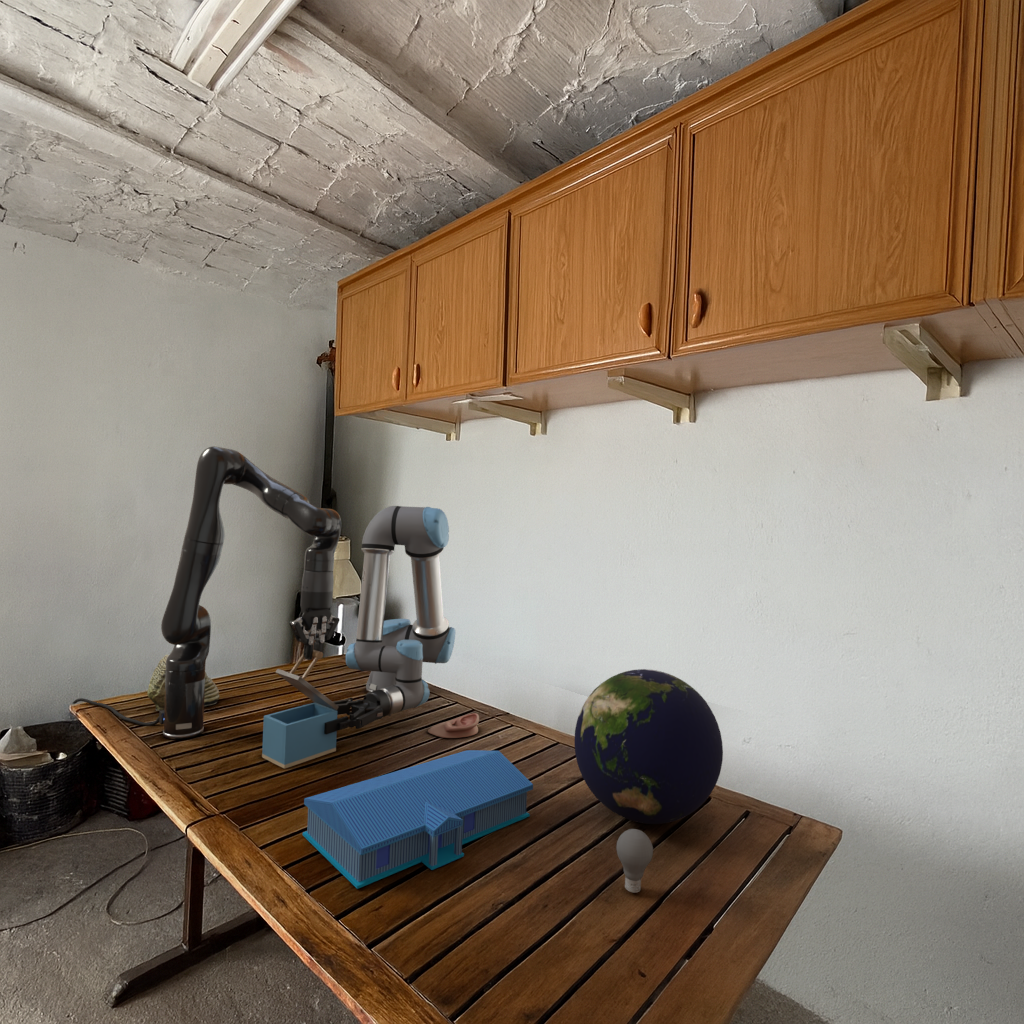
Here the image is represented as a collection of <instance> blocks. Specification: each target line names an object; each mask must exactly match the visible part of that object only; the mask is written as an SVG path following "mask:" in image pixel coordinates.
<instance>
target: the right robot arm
mask: <svg viewBox="0 0 1024 1024" xmlns="http://www.w3.org/2000/svg"><path fill="white" fill-rule="evenodd" d="M449 533H450V526H449V520H448V517H447V515H446V513H445V512H444V511H443V510H442V509H440V508H438V507H437V508H436V507H430V506H425V507H424V506H402V505H390V506H387V507H385V508H383V509H381V510H379V511H378V512H377V513H376V514H375V515H373V517H372V518H371V520H370V521H369V522H368V525H367V526H366V528H365V531H364V533H363V535H362V541H361V551H362V552H363V554H364V555H363V567H362V574H361V575H362V577H361V586H360V595H359V607H358V616H357V625H356V626H357V627H356V639H355V642H352V643H349V645H348V647H347V649H346V653H345V664H346V666H347V668H349V669H351V670H357V671H361V672H370V673H369V676H368V679H367V681H366V685H365V693H366V694H365V695H364V697H363V698H360V699H356V700H354V699H353V697H348V698H343V699H339V700H333V701H332V700H331V701H332V702H333V703H335V704H336V705H337V706H338V709H337V710H336V711H338V712H337V716H339V715H345V716H342V717H339V718H337V719H335V720H332V721H329V722H326V723H325V730H324V734H329V733H332V732H335V731H337V732H338V731H341V730H345V729H348V728H351V729H353V728H354V727H355V729H356V730H359V729H363V728H364V727H366V726H368V725H370V724H371V723H374V722H375V721H378V720H383V718H385V717H392V715H395V714H397V713H401V712H403V711H406V710H407V711H408V710H410V709H415V708H417V707H419V706H422V705H423V704H426V702H427V701H428V700H429V698H430V689H429V684H428V683H427V682H426V681H425V679H422V677H423V663H430V664H434V665H436V664H446V663H448V662H449V661H450V659H451V658H452V654H453V650H454V646H455V641H456V628H454V627H452V626H450V621H449V620H448V618H446V617H445V616H444V605H443V592H442V591H443V590H442V575H441V563H440V561H441V560H440V555H441V554H442V553H443V551H444V549H445V548H446V547H447V545H448V543H449V541H450V540H449V539H450V534H449ZM396 546H404V552H405V555H406V556H408V557H410V563H411V573H412V574H411V575H412V584H413V595H414V606H415V607H414V608H415V616H416V617H415V618H416V619H415V620H414V622H413V623H412V622H411V620H410V619H408V618H394V619H386V620H385V613H386V603H387V593H388V583H389V574H390V573H389V571H390V563H391V555H392V554H394V553H395V547H396ZM320 705H321V704H320ZM328 708H329V707H328ZM333 710H334V709H333Z"/></svg>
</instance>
